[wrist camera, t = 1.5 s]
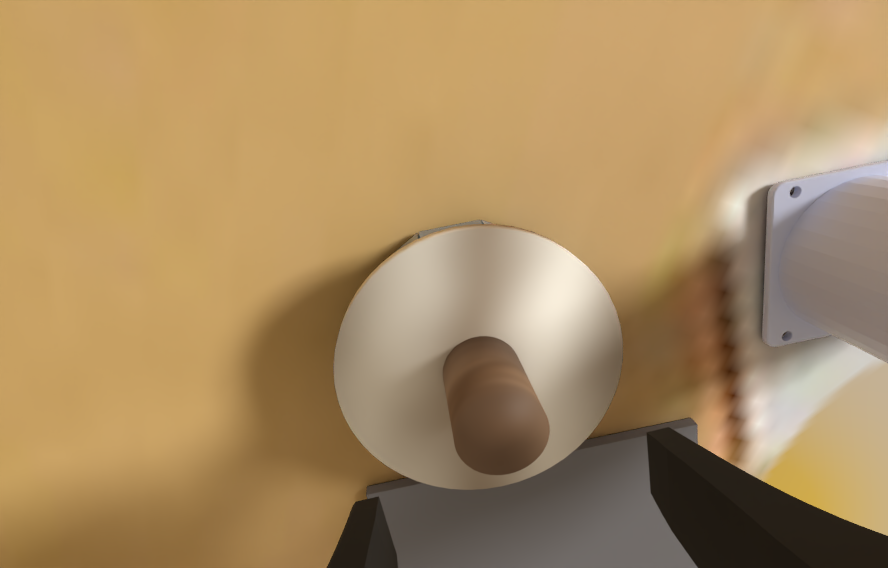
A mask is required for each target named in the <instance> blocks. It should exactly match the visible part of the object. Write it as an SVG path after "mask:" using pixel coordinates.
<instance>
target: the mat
mask: <svg viewBox="0 0 888 568" xmlns="http://www.w3.org/2000/svg"><path fill="white" fill-rule="evenodd" d="M666 427H670V428H671V429H673V430H675V431H676V432H678V433H680V434H682V435H683V436H685V437H687V438H688V439H690V440H691V441H693V442H695V443H696V444H698V441H697V424H696V423H695V422H694V421H693V420H692V419H691V418H687V419H682V420H678V421H673V422H668V423H663V424H659V425H654V426H649V427H645V428H640V429H635V430H631V431H626V432H621V433H616V434H612V435H607V436H602V437H598V438H593V439H588V440H585V441H584V442H583V443H582V444H581V445H580V446H579V447H578V448H577V449H575V450H574V451H573V452H572V453H571V454H569V455H568V456H567V457H566V458H564V459H563V460H561V461H560V462H558V463H557V464H555V465H554V466H552V467H551V468H549V469H547V470H545V471H543V472H541V473H539V474H537V475H535V476H532V477H530V478H527V479H525V480H522V481H519V482H516V483H512V484H509V485H505V486H501V487H494V488H488V489H475V490H461V489H448V488H442V487H436V486H432V485H428V484H425V483H421V482H418V481H415V480H413V479H411V478H405V479H400V480H396V481H391V482H386V483H381V484H377V485H372V486H367V493H366V496H367V499H370V498H374V497H378V496H379V498H380V502H381V505H382V508H383V511H384V514H385V518H386V521H387V524H388V527H389V531H390V534H391V537H392V540H393V544H394V547H395V550H396V553H397V562H398V568H698V567H697V566H696V565H695V563H694V562H693V560H692V559H691V558H690V556H689V555H688V553H687V552H686V551H685V549H684V548H683V546H682V545H681V543H680V542H679V541H678V539H677V538H676V536H675V535H674V533H673V532H672V531H671V529H670V527H669V525H668V524H667V522H666V520H665V518H664V517H663V515H662V513H661V511H660V509H659V508H658V506H657V504H656V502H655V500H654V498H653V496H652V495H651V490H650V476H649V462H648V448H647V434H646V432H650V431H654V430H658V429H662V428H666Z"/></svg>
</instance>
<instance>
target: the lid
mask: <svg viewBox="0 0 888 568" xmlns="http://www.w3.org/2000/svg"><path fill="white" fill-rule="evenodd" d="M622 361H623V339H622V332H621V325H620V322H619V318H618V315H617V312H616V309H615V307H614V304H613V302H612V300H611V298H610V296H609V294H608V292H607V291H606V289H605V288H604V286H603V285H602V283H601V282H600V280H599V279H598V278H597V277H596V276H595V274H594V273H593V272H592V271H591V270H590V269H589V268H588V267H587V266H586V265H585V264H584V263H583V262H581V261H580V260H579V259H578V258H576V257H575V256H574V255H573V254H572V253H570V252H569V251H568V250H567V249H565V248H564V247H562V246H560V245H559V244H557V243H555V242H554V241H552V240H550V239H548V238H546V237H544V236H541V235H539V234H537V233H534V232H532V231H528V230H524V229H521V228H517V227H513V226H505V225H497V224H472V225H464V226H457V227H452V228H448V229H444V230H441V231H437V232H434V233H431V234H429V235H426V236H424V237H421V238H419V239H417V240H415V241H413V242H411V243H409V244H408V245H406V246H404V247H402V248H401V249H399V250H397V251H396V252H395V253H393V254H392V255H391V256H389V257H388V258H387V259H386V260H384V261H383V262H382V263H381V264H380V265H379V266H378V267H377V268H376V269H375V270H374V271H373V272H372V273H371V274H370V275H369V276H368V277H367V278H366V280H365V281H364V282H363V284H362V285H361V286H360V287H359V289H358V290H357V292H356V293H355V295H354V297H353V299H352V301H351V302H350V304H349V306H348V308H347V310H346V313H345V316H344V318H343V321H342V323H341V327H340V330H339V334H338V339H337V343H336V347H335V354H334V366H333V369H334V384H335V389H336V394H337V398H338V402H339V405H340V408H341V410H342V413H343V415H344V418H345V420H346V421H347V423H348V425H349V427H350V428H351V430H352V432H353V433H354V435H355V436H356V437H357V438H358V440H359V441H360V442H361V444H362V445H363V446H364V447H365V448H366V449H367V450H368V451H369V452H370V453H371V454H372V455H373V456H374V457H375V458H377V459H378V460H379V461H381V462H382V463H383V464H385V465H386V466H387V467H389V468H391V469H393V470H394V471H396V472H398V473H400V474H401V475H403V476H406V477H408V478H411V479H413V480H415V481H418V482H421V483H425V484H428V485H432V486H436V487H442V488H448V489H461V490H475V489H488V488H494V487H501V486H505V485H509V484H512V483H516V482H519V481H522V480H525V479H527V478H530V477H532V476H535V475H537V474H539V473H541V472H543V471H545V470H547V469H549V468H551V467H552V466H554V465H555V464H557V463H558V462H560V461H561V460H563V459H564V458H566V457H567V456H568V455H569V454H571V453H572V452H573V451H574V450H575V449H577V448H578V447H579V446H580V445H581V444H582V443H583V442H584V441H585V440H586V439H587V438H588V437H589V436H590V434H591V433H592V432H593V431H594V429H595V428H596V427H597V425H598V424H599V423H600V421H601V420H602V418H603V416H604V415H605V413H606V411H607V410H608V408H609V406H610V404H611V401H612V399H613V397H614V395H615V392H616V389H617V386H618V382H619V379H620V375H621V368H622Z"/></svg>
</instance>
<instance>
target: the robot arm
mask: <svg viewBox="0 0 888 568" xmlns="http://www.w3.org/2000/svg"><path fill="white" fill-rule="evenodd" d="M793 187H794V189H795V190H794V193H793V194H792V195H791V196H790V191H791V189H792V188H793ZM785 332H786V334H785V335H784V336H783V337H782V335H783V334H784V333H785ZM830 335H834V336H836V337H838V338H840V339H842V340H843V341H845V342H847V343H849V344H851V345H853V346H855V347H857V348H859V349H861V350H863V351H865V352H867V353H869V354H871V355H873V356H875V357H877V358H879V359H881V360H883V361H885V362H887V363H888V160H884V161H880V162H875V163H870V164H865V165H860V166H855V167H850V168H845V169H840V170H835V171H830V172H825V173H820V174H815V175H811V176H806V177H801V178H796V179H791V180H786V181H781V182H778V183H775V184H774V185H773V186H772V187H771V188H770V190H769V192H768V199H767V225H766V251H765V277H764V302H763V328H762V339H763V341H764V343H766V344H767V345H769V346H771V347H778V346H783V345H788V344H792V343H797V342H802V341H807V340H811V339H816V338H821V337H826V336H830ZM646 434H647V448H648V462H649V476H650V490H651V495H652V496H653V498H654V500H655V502H656V504H657V506H658V508H659V509H660V511H661V513H662V515H663V517H664V518H665V520H666V522H667V524H668V525H669V527H670V529H671V531H672V532H673V533H674V535H675V536H676V538H677V539H678V541H679V542H680V543H681V545H682V546H683V548H684V549H685V551H686V552H687V553H688V555H689V556H690V558H691V559H692V560H693V562H694V563H695V565H696V566H697V567H698V568H888V536H886V535H883V534H881V533H878V532H875V531H872V530H870V529H867V528H865V527H862V526H859V525H857V524H854V523H852V522H849V521H847V520H844V519H842V518H839V517H837V516H835V515H833V514H830V513H828V512H826V511H823V510H821V509H819V508H817V507H814V506H812V505H809V504H807V503H805V502H803V501H801V500H799V499H797V498H795V497H793V496H790V495H789V494H787V493H784V492H783V491H781V490H779V489H777V488H774V487H773V486H771V485H769V484H767V483H765V482H763V481H761V480H759V479H757V478H756V477H754V476H752V475H750V474H748V473H746V472H745V471H743V470H741V469H739V468H737V467H736V466H734V465H732V464H730V463H729V462H727V461H725V460H723V459H722V458H720V457H718V456H717V455H715V454H713V453H712V452H710V451H708V450H706V449H705V448H703V447H701V446H700V445H698V444H696V443H695V442H693V441H691V440H690V439H688V438H687V437H685V436H683V435H682V434H680V433H678V432H676V431H675V430H673V429H671V428H670V427H666V428H662V429H658V430H654V431H650V432H646ZM327 568H398V562H397V553H396V550H395V547H394V544H393V540H392V537H391V534H390V531H389V527H388V524H387V521H386V518H385V514H384V511H383V508H382V505H381V502H380V498H379V496H378V497H374V498H370V499H366V500H361V501H357V502H355V504H354V505H353V507H352V510H351V512H350V515H349V518H348V520H347V523H346V525H345V528H344V530H343V533H342V535H341V537H340V540H339V542H338V544H337V547H336V549H335V551H334V553H333V556H332V558H331V560H330V562H329V564H328V566H327Z"/></svg>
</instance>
